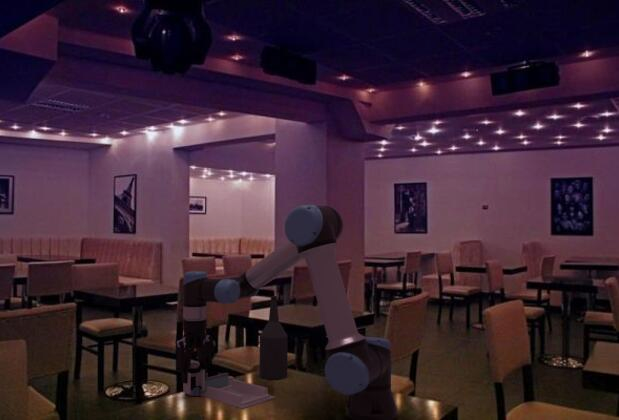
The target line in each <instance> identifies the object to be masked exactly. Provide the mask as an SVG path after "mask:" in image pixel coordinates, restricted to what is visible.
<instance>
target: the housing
mask: <svg viewBox="0 0 619 420" xmlns="http://www.w3.org/2000/svg"><path fill="white" fill-rule="evenodd" d="M268 391H269V388H268V387H266V386H262V385H257V384H254V383H249V382H246V381H241V380H238V379H235V377H234V376H232V375H231V376H230V375H228V386H226V387H222V388H219V389H217V388H214V387H210V386H208V387H207V392H205V394H200V395H199V396H200V397H201V396H202V397H205V398H206V399H210V400H214V401H216V402H220V403H221V404H225V405H228V406H231V407H235V408H238V409H242V410H243V409H247V408H249V407H252V406H253V407H254V406H256V405H258V404H262V403H265V402H267V401H271V400H273V399H276V396H274V395H270V394H269V392H268Z"/></svg>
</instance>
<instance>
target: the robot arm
mask: <svg viewBox="0 0 619 420" xmlns="http://www.w3.org/2000/svg"><path fill="white" fill-rule="evenodd" d="M343 230H344V221H343V217H342V216H341V214H340V212H338V210H336V209H335V208H333V207H331V206H328V205H315V204H301V205H298V206H296V207H294V208H293V209H291V211H289V213H288V214H287V216H286V219H285V221H284V232H285V236H286V238H287V239H288V240H287V241H286V242H284V243H282V245H279V247H277V248H276V249H274V251H272V252H271V253H268V254H267V255H266V256H264V258H262V259H260V260H259V261H258V262H256V264H254V265H252V266H251V267H250V268H248V269H247V270H246V271H244V272H243V273H241V274H240V275H238V276H232V277H231V276H230V277H225V278H208V274H207V273H208V272H206V271H203V270H202V271H200V270H199V271H198V270H197V271H196V270H195V271H194V270H193V271H192V270H191V271H186V272H185V273H184V274H183V283H182V287H183V288H182V292H183V293H182V294H183V304H182V307H183V308H182V311H183V313H182V316H183V321H182V331H183V336H182V338H181V339H180V340H176V341H175V346H176V370H175V371H176V372H180V373H181V383H182V384H183V387H182V388H183V389H182V390H183V393H184V394H185V393H187V394H190V392H191V373H189V367H190V363H192V357H193V353H194V352H195V351H196V355H197V359H198V363H199V365H200V366H201V371H200V372H199V380H198V384H199V386H201V390H205V378H207V370H209V369H210V367H211V366H212V360H213V359H212V342H213V339H214V336H212V335H209V334H207V333H206V331H207V319H206V318H208V317H207V313H208V312H207V310H208V309H207V306H208V305H207V303H219V304H222V305H223V304H233V303H236V302H237V300H242V299H243V300H244V299H250V298H252V297H255V296H256V295H257V294H258V293H259V291H260V289H262V288H263V287H264V286H266V285H267V284H269V283H270V282H272V281H273V280H275V279H276V278H278V277H279V276H281V275H282V274H283V273H285V272H286V271H288V270H289V269H290V268H292V267H293V266H295V265H296V264H298V263H299V262H301V261H302V260H305V262H306V265H307V266H306V267H307V269H308V273H309V275H310V276H309V277H310V280H311V283H312V287H313V290H314V294H315V298H316V301H317V304H318V308H319V312H320V314H321V318H322V322H323V326H324V329H325V333H326V336H327V340H328V342H327V344H326V346H325V348H324V349H325V351H326V352H325V353H326V356H327V361H326V363H325V367H324V374H325V378H326V380H327V383H328V384H329V386H330V387H332V389H333V390H335V391H337V392H338V393H339V394H343V395H349V397H348V399H347V404H346V407H345V410H346V411H345V412H346V413H345V415H346V417H347V418H349V419H350V420H396V419H397V417H398V407H397V405H396V401H395V397H394V395H393V391H392V352H393V351H392V344H391V341H390V340H389V339H387V338H383V337H375V336H363V334H360V333H359V331H358V329H357V324H356V322H355V318H354V315H353V311H352V307H351V305H350V301H349V299H348V298H349V297H348V294H347V292H346V291H347V290H346V288H345V284H344V281H343V277H342V274H341V271H340V267H339V264H338V261H337V257H336V254H335V250H336V248H337V246H338V243H337V240H338V239H339V238H340V236H341V235H342V233H343Z"/></svg>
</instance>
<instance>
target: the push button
mask: <svg viewBox="0 0 619 420" xmlns="http://www.w3.org/2000/svg"><path fill="white" fill-rule="evenodd" d="M200 371H201V366H200V365H199V362H191V363H190V367H189V373H191V392H190V394H187V393H184V395H185V396H193V397H194V396H195V397H198V396H201V395H200V394H205V393H201V391H205V390H201V386H199V384H198V380H199V372H200Z"/></svg>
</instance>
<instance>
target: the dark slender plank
mask: <svg viewBox="0 0 619 420" xmlns="http://www.w3.org/2000/svg"><path fill="white" fill-rule="evenodd" d="M229 376H230V375H229V373H228V372H223V373H220V374H217V375H212V376H207V377H206V378H205V391H201V393H205V392H207V387H208V386H210V387H214V388H217V389H219V388H222V387H226V386H228V377H229Z"/></svg>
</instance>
